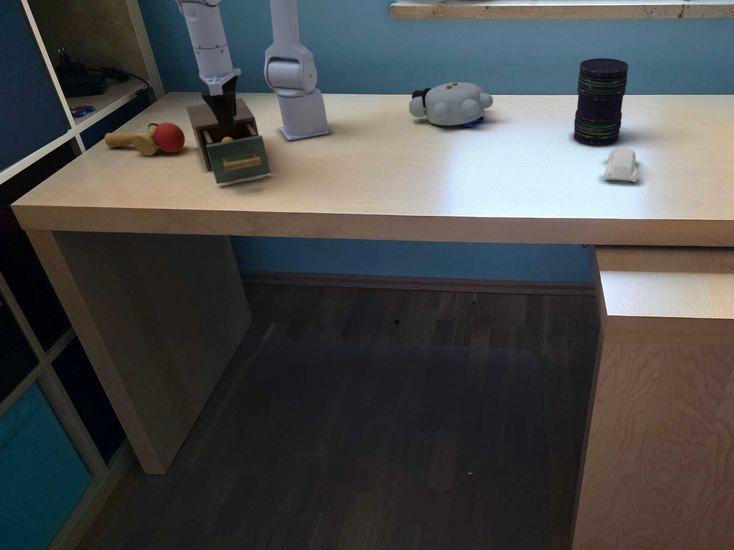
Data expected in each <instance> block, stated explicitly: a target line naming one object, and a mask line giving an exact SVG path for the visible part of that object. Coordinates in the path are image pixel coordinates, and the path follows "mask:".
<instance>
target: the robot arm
mask: <svg viewBox="0 0 734 550" xmlns="http://www.w3.org/2000/svg"><path fill="white" fill-rule="evenodd" d="M174 1H175V3H176V4H177V7H178V9H179V13H180V14H181V15H182V16H183V17H184V19H185V23H186V26H187V31H188V34H189V37H190V42H191V45H192V49H193V52H194V56H195V59H196V64H197V67H198V70H199V73H198V76H199V79H200V80H201V81H203V82H204V83H205V84H206V85H207V87H208V90H202V91H201V94H200V95H201V98H202V100H203V101H204V102H205V104H206V103H207V104H208V106H209V107H210V108H211V110H212V111H213V113H214V115H215V117H216V119H217V121H218V123H219V125H220V127H221V129H222V131H234V128H235V122H234V116H236V115H237V107H236V99H237V94H236V93H237V82H238V78H239V76H241V75H242V71H241V68H239V67H237V68H234V67H233V62H232V58H231V54H230V50H229V45H228V42H227V37H226V32H225V29H224V28H225V27H224V25H223V20H222V17H221V12H220V8H219V3H220V2H221V1H222V0H174ZM269 6H270V15H271V26H272V27H271V28H272V36H273V37H272V38H273V43H272V44H271V45H269V47H268V48H267V49H266V50H265V51H264V57H265V58H264V67H263V77H264V80H265V82H266V84H267V86H268V87H269V88H270V89H272V91H273V94H276V96H277V100H278V106H279V111H280V116H281V120H282V125H283V126H281V127H279V131H280V132H281V133H282V135H283V136H284V138H285V139H286V141H295V140H301V139H305V138H311V137H318V136H323V135H327V134H330V129H329V125H328V117H327V112H326V105H325V100H324V97H323V94H322V92H321V89H320V88H317V87H316V86H317V82H318V71H317V67H316V65H315V61H314V54H313V52H311V50H309V49H308V48H307V47H305V45H304V44H302V43H301V42H300V30H299V17H298V4H297V0H269Z"/></svg>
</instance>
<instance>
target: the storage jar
mask: <svg viewBox="0 0 734 550" xmlns="http://www.w3.org/2000/svg"><path fill="white" fill-rule="evenodd" d="M628 71H629V64H628V63H627V62H626V61H623V60H620V59H616V58H607V57H599V58H598V57H597V58H590V59H585V60H582V61H581V62H580V63H579V73H578V78H577V94H578V95H577V106H576V110H575V113H574V121H573V130H574V133H573V140H574V141H575V142H576V143H578V144H580V145H584V146H589V147H608V146H613V145H614V144H616V143H618V141H619V139H620V138H619V137H620V136H619V134H620V130H621V128H622V118H623V113H622V109H623V100H624V97H625V94H626V92H627V90H626V89H627V88H626V87H627V83H628Z"/></svg>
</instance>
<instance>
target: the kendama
mask: <svg viewBox="0 0 734 550" xmlns="http://www.w3.org/2000/svg"><path fill="white" fill-rule="evenodd" d="M185 142H186V136H185V133H184V131H183V130H182V129H181V127H180V126H178V125H177V124H175V123H173V122H161V121H159V120H152V121H151V122H149V123H148V125H147V132H146V133H144V132H137V133H132V132H130V133H129V132H126V133H125V132H123V133H121V132H119V133H117V132H115V133H114V132H107V133H106V134H105V135H104V143H105V144H106V145H107V147H109V148H112V149H113V148H117V147H123V146H131V145H133V147H134V148H135V150H136V151H138V153H140V154H141V155H143V156H147V157H150V156H153V155H154V154H155V153H156V152H157V151H158V148H159V149H161V150H162V151H163V152H166V153H177V152H179V151H181V150H183V148H184V146H185Z"/></svg>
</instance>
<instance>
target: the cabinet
mask: <svg viewBox="0 0 734 550" xmlns="http://www.w3.org/2000/svg"><path fill="white" fill-rule="evenodd" d="M236 107H237V115H236V116H234V122H235V124H238V123H244V122H249V123H250V124H251V126H252V128H253V129H254V131H255V132H256V134H257V136H260V134H259V130H258V126H257V125H258V124H257V120H256V117H255V115H254V114H253V112H252V111H251V109H250V108H249V106H248V105H247V103H246V102H245V100H244V99H243V97H239V98H236ZM185 108H186V111H187V115H188V118H189V122H190V125H191V128H192V132H193V135H194V139H195V143H196V145H197V149H198V152H199V153H200V156H201V158H202V159H201V160H202V161H203V163H204V166H205V168H206V171H207V172H210V171H213V169H212V166H211V162H210V159H209V155H208V152H207V148H206V144H205V140H204V137H203V133H202V129H208V128H214V127H220V125H219V123H218V121H217V119H216V117H215V115H214V113H213V111H212V110H211V108H210V107H209V106H208V104H207V103H206V102H205V103H199V104H194V105H187V106H186V107H185Z"/></svg>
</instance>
